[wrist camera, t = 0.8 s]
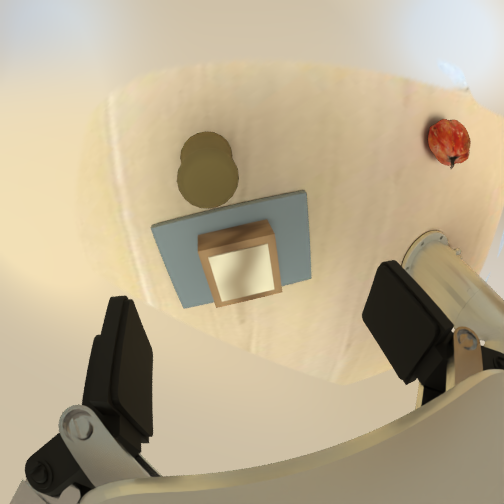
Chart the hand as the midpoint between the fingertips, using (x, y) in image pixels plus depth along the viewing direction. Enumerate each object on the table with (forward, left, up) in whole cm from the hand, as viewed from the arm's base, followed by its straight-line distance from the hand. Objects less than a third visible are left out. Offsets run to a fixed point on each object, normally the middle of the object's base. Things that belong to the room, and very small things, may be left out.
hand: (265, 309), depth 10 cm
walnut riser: (0, +13, -24) cm, 27 cm away
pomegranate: (-34, 0, -25) cm, 42 cm away
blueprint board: (0, +13, -25) cm, 28 cm away
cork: (+1, -1, -25) cm, 25 cm away
